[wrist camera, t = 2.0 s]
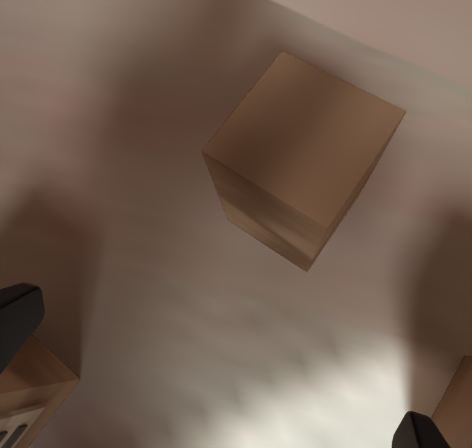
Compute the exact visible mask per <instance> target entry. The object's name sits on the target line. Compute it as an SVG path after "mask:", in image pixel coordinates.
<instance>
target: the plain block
mask: <svg viewBox="0 0 472 448" xmlns="http://www.w3.org/2000/svg"><path fill="white" fill-rule="evenodd" d="M405 113H406V111H405V110H403V109H401V108H399V107H397V106H395V105H393V104H390V103H388V102H386V101H384V100H382V99H380V98H378V97H376V96H374V95H372V94H370V93H368V92H366V91H364V90H362V89H360V88H358V87H356V86H354V85H351V84H349V83H347V82H345V81H343V80H341V79H339V78H337V77H335V76H333V75H331V74H329V73H327V72H325V71H323V70H321V69H319V68H317V67H315V66H312V65H310V64H308V63H306V62H304V61H302V60H300V59H298V58H296V57H294V56H292V55H290V54H288V53H286V52H284V51H282V52H281V53H280V54H279V56H278V57H277V58H276V59H275V61H274V62H273V63H272V64H271V65H270V67H269V68H268V69H267V70H266V72H265V73H264V74H263V75H262V77H261V78H260V79H259V80H258V82H257V83H256V84H255V85H254V87H253V88H252V89H251V90H250V91H249V93H248V94H247V95H246V96H245V98H244V99H243V100H242V101H241V103H240V104H239V105H238V106H237V108H236V109H235V110H234V111H233V113H232V114H231V115H230V116H229V118H228V119H227V120H226V121H225V122H224V124H223V125H222V126H221V127H220V129H219V130H218V131H217V132H216V134H215V135H214V136H213V137H212V139H211V140H210V141H209V142H208V144H207V145H206V146H205V147H204V148H203V150H202V154H203V156H204V159H205V161H206V164H207V167H208V169H209V172H210V175H211V177H212V180H213V182H214V185H215V188H216V190H217V193H218V195H219V198H220V201H221V203H222V206H223V209H224V211H225V214H226V216H227V219H228V221H230V222H231V223H233V224H234V225H236V226H237V227H239V228H240V229H242V230H243V231H245V232H246V233H248V234H249V235H251V236H253V237H254V238H256V239H257V240H259V241H260V242H262V243H263V244H265V245H266V246H268V247H269V248H271V249H272V250H274V251H275V252H277V253H278V254H280V255H281V256H283V257H284V258H286V259H287V260H289V261H290V262H292V263H293V264H295V265H296V266H298V267H299V268H301V269H302V270H304V271H305V272H308V270H309V269H310V267H311V266H312V264H313V263H314V261H315V260H316V258H317V257H318V255H319V254H320V252H321V251H322V249H323V248H324V246H325V245H326V244H327V242H328V241H329V239H330V238H331V236H332V235H333V233H334V232H335V230H336V229H337V227H338V226H339V224H340V223H341V221H342V220H343V218H344V217H345V215H346V214H347V212H348V211H349V209H350V208H351V206H352V205H353V203H354V202H355V200H356V199H357V197H358V196H359V194H360V192H361V191H362V189H363V187H364V185H365V184H366V182H367V180H368V178H369V176H370V175H371V173H372V171H373V169H374V168H375V166H376V164H377V162H378V161H379V159H380V157H381V155H382V154H383V152H384V150H385V148H386V147H387V145H388V143H389V141H390V140H391V138H392V136H393V134H394V133H395V131H396V129H397V127H398V126H399V124H400V122H401V120H402V119H403V117H404V115H405Z"/></svg>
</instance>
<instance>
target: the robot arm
mask: <svg viewBox="0 0 472 448" xmlns="http://www.w3.org/2000/svg"><path fill="white" fill-rule="evenodd" d="M43 317H44V304H43V297H42V291H41V289H40V287H38V286H35V285H32V284H29V283H20V284H17V285H13V286H10V287H7V288H4V289H0V374H1V373H2V372H3V371H4V369H5V368H6V367H7V366H8V364H9V363H10V362H11V361H12V359H13V358H14V357H15V355H16V354H17V353H18V351H19V350H20V349H21V347H22V346H23V345H24V343H25V342H26V341H27V340H28V338H29V337H30V336H31V334H32V333H33V332H34V330H35V329H36V328H37V326H38V325H39V324H40V322H41V321H42V319H43ZM392 448H451V447H450V446H449V444H448V443H447V441H446V440H445V438H444V437H443V435H442V434H441V432H440V431H439V429H438V428H437V426H436V425H435V423H434V422H433V420H432V419H431V418H430V417H428V416H425V415H422V414H419V413H416V412H413V411H408V412H407V413H406V414H405V416H404V418H403V419H402V421H401V423H400V425H399V426H398V428H397V430H396V432H395V434H394V436H393V440H392Z"/></svg>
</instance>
